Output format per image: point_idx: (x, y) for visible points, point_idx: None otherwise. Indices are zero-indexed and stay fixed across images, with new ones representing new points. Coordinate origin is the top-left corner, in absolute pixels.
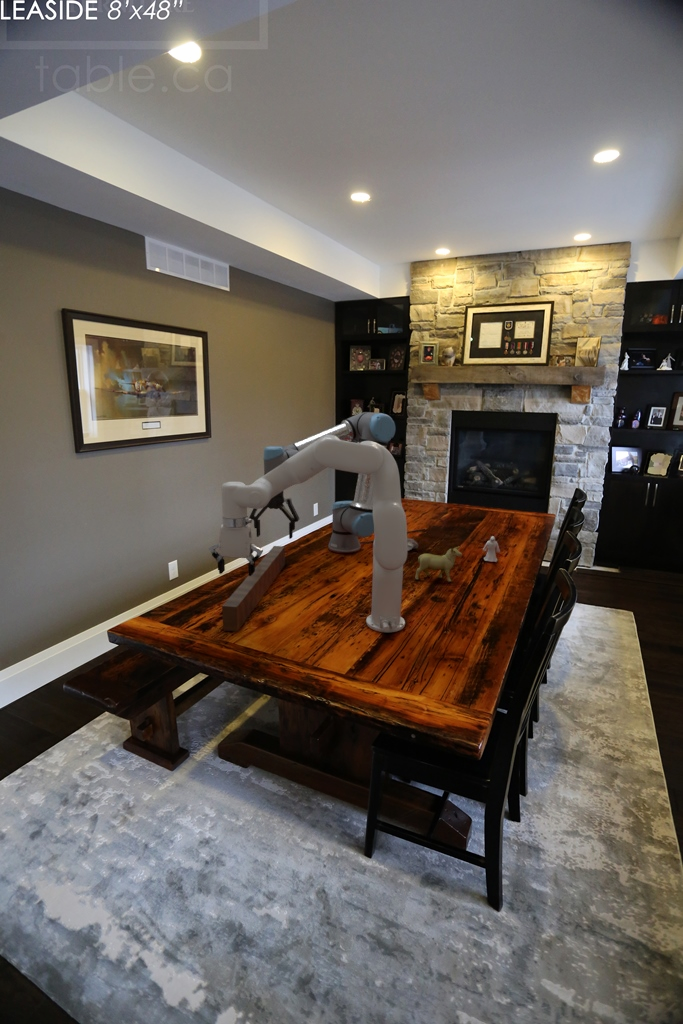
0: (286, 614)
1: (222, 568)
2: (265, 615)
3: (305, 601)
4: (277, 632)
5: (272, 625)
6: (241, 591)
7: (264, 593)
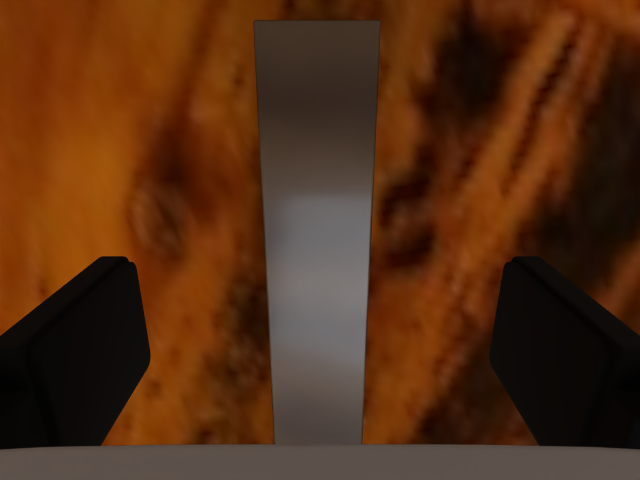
0: None
1: (524, 326)
2: (201, 253)
3: None
4: (59, 75)
5: (120, 151)
6: (319, 303)
7: None
